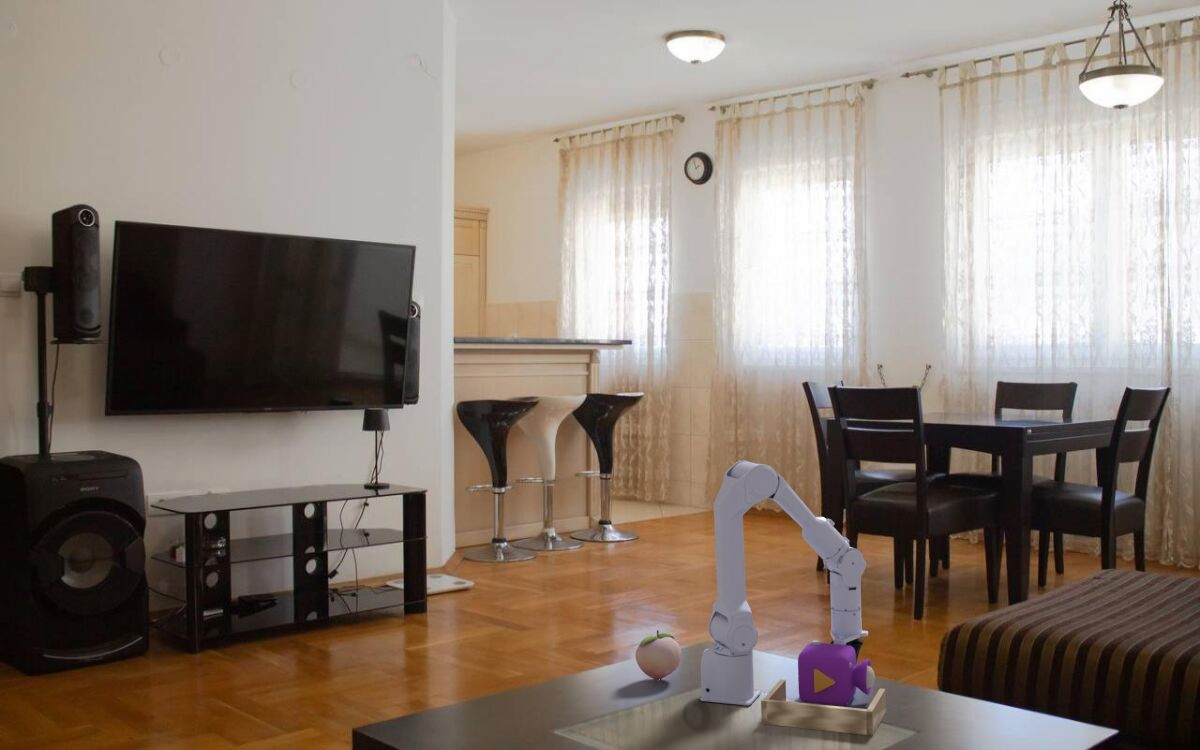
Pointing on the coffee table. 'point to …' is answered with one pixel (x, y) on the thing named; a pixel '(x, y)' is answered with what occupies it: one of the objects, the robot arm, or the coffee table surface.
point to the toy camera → (832, 674)
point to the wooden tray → (821, 713)
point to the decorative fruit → (658, 655)
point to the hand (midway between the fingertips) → (847, 678)
